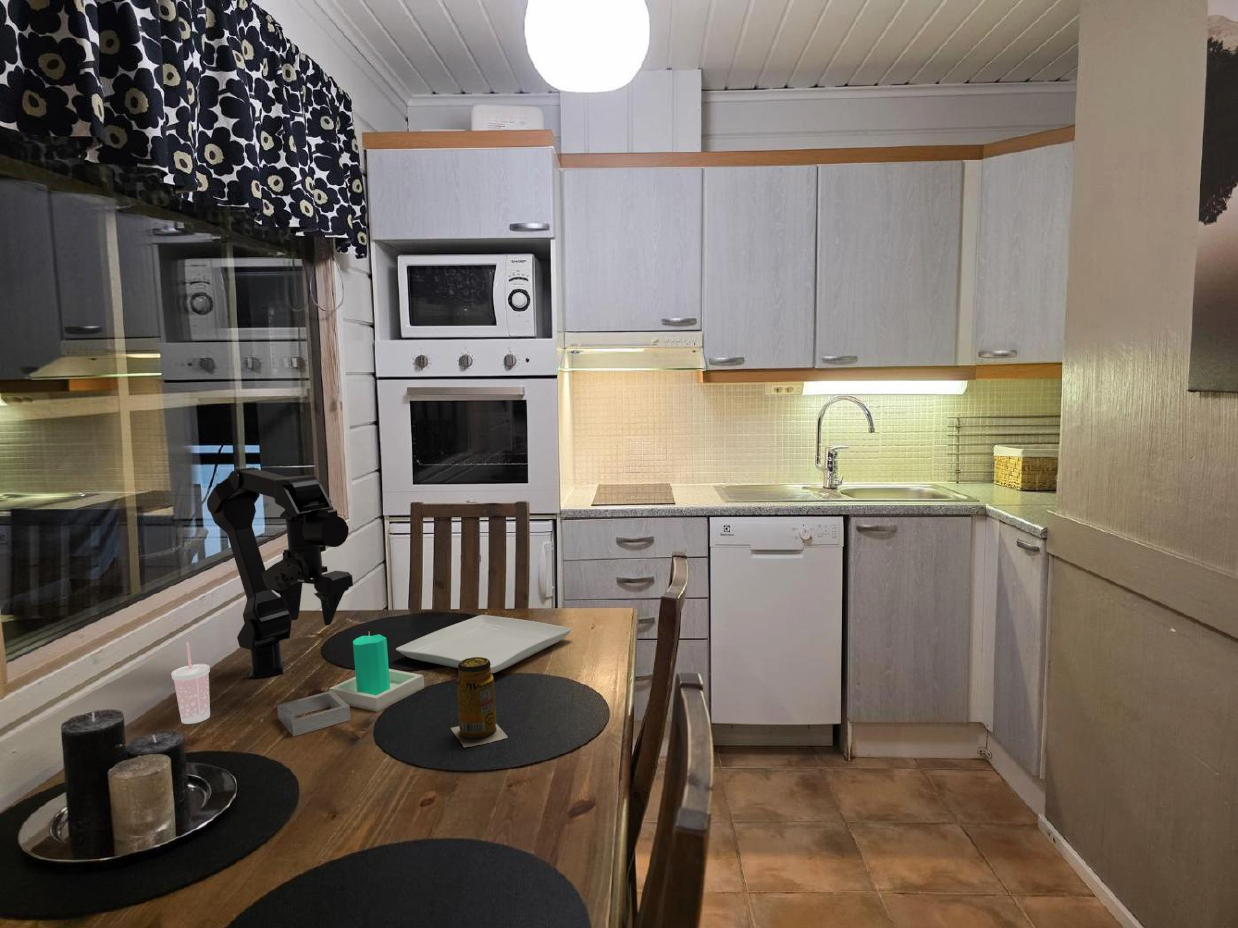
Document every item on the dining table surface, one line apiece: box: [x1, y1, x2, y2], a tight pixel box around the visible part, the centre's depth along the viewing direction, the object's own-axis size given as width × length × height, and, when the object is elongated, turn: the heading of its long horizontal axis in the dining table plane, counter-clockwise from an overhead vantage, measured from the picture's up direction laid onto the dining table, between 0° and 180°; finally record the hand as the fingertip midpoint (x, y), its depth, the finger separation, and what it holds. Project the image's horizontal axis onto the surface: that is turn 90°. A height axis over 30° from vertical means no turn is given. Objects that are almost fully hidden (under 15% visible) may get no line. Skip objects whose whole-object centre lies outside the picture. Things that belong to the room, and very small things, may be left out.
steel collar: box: [276, 690, 352, 737], centre depth 141 cm, size 10×10×2 cm
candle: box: [352, 632, 390, 695], centre depth 150 cm, size 6×6×12 cm
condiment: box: [450, 657, 509, 748], centre depth 132 cm, size 7×8×12 cm
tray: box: [328, 668, 425, 713], centre depth 151 cm, size 12×12×2 cm
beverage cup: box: [170, 641, 211, 725], centre depth 143 cm, size 6×6×14 cm
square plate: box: [395, 614, 573, 675], centre depth 173 cm, size 27×27×4 cm
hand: (311, 622), depth 155 cm, fingers open, 9 cm apart
